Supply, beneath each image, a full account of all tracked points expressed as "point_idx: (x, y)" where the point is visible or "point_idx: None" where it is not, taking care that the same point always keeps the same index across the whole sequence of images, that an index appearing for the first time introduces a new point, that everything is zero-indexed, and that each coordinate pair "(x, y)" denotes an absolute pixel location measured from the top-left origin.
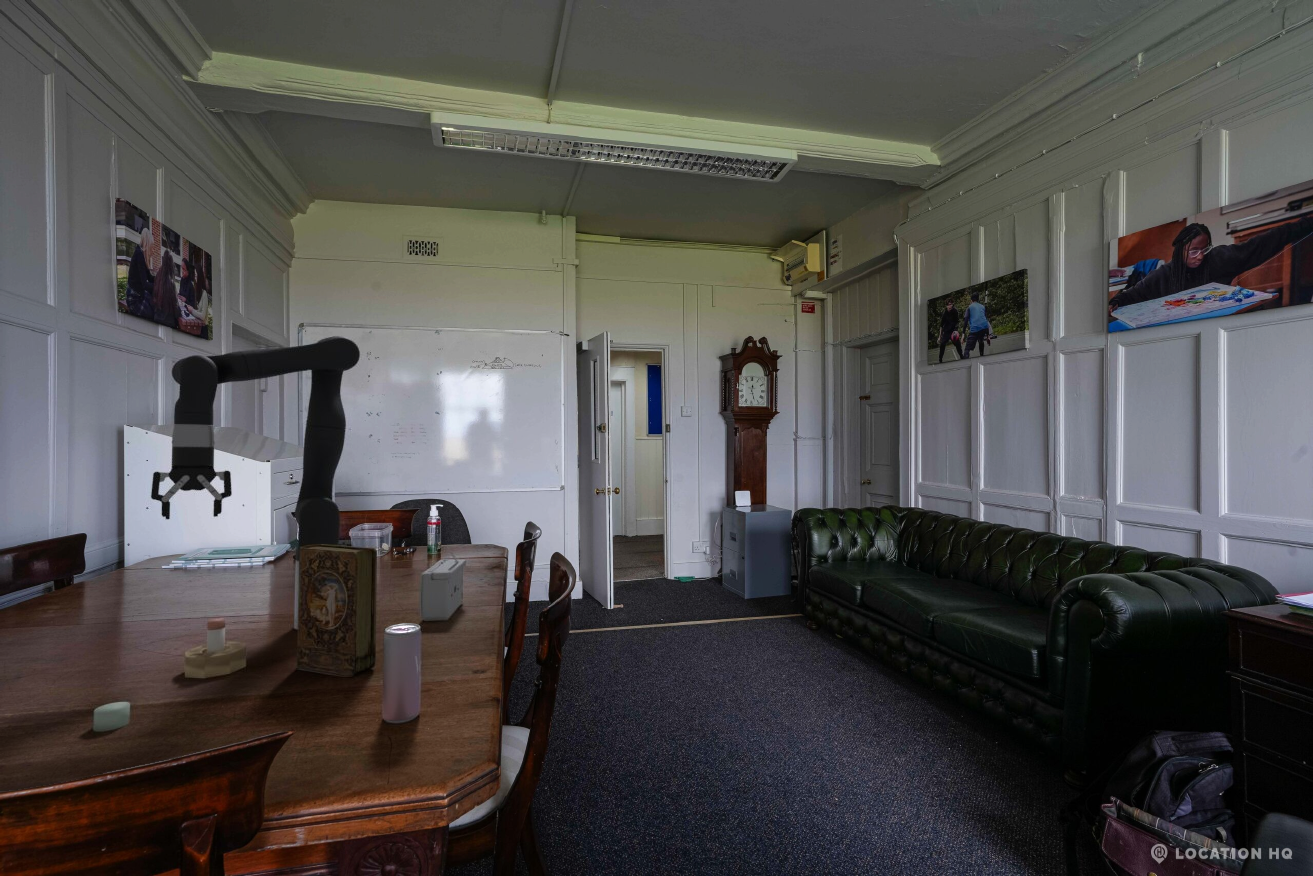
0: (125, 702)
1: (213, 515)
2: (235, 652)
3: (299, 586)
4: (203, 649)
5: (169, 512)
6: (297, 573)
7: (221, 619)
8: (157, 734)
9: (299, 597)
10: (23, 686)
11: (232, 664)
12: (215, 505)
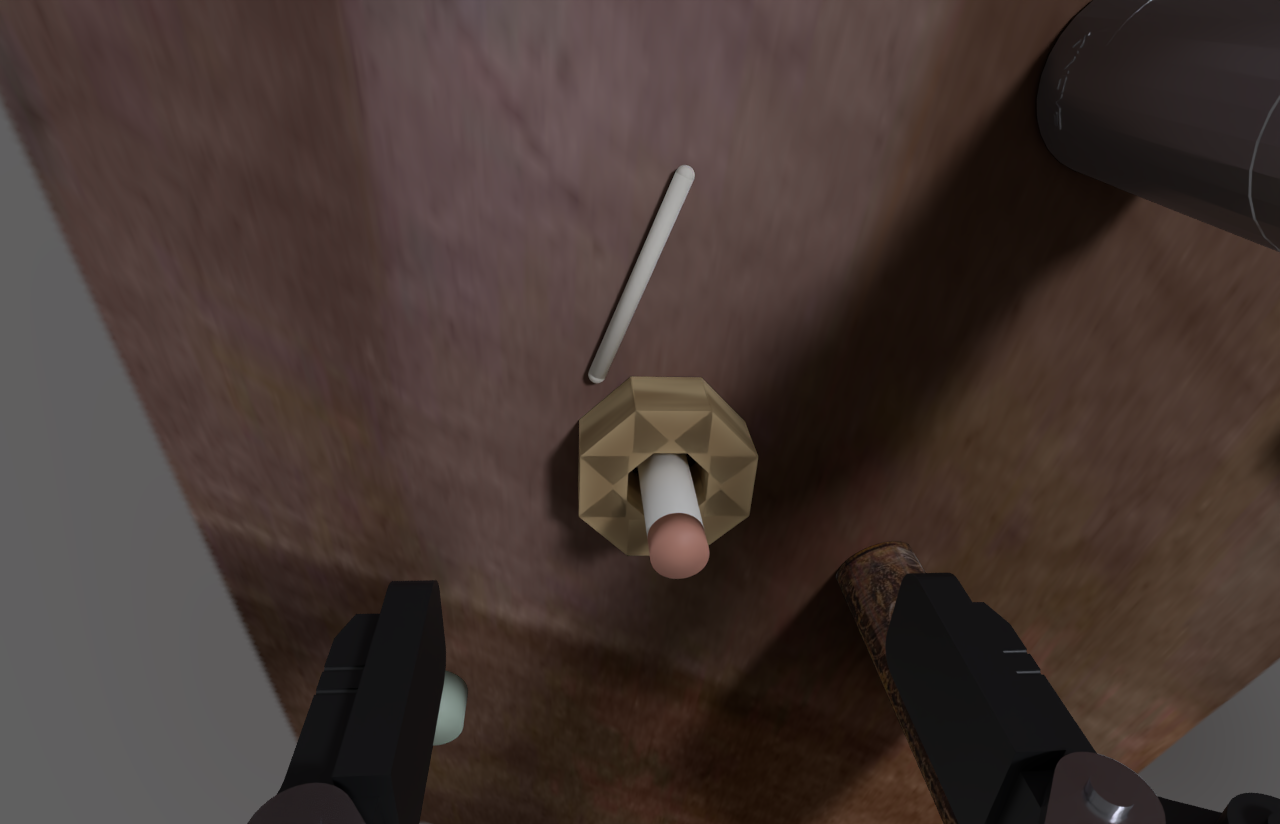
0: (453, 713)
1: (907, 579)
2: (711, 540)
3: (937, 807)
4: (633, 466)
5: (430, 738)
6: (1249, 167)
7: (696, 556)
8: (520, 764)
9: (920, 768)
10: (108, 263)
11: None
12: (951, 779)
